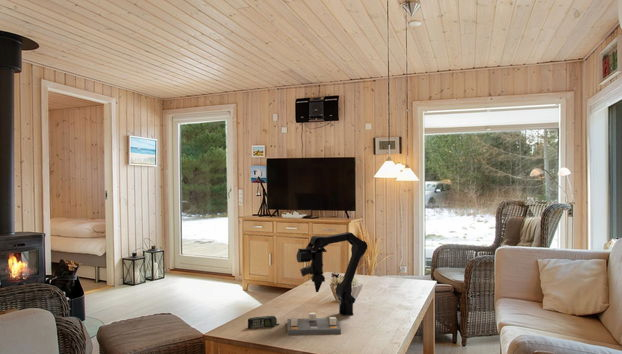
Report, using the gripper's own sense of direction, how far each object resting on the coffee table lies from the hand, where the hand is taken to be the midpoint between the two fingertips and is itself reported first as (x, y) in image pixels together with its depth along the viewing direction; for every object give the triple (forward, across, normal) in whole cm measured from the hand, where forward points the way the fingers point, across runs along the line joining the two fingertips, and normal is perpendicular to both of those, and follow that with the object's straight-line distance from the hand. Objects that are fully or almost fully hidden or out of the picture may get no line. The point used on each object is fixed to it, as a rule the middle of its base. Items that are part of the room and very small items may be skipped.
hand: (316, 292), depth 216 cm
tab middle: (+11, +10, -3) cm, 15 cm away
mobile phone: (+13, +12, -26) cm, 32 cm away
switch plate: (+13, +15, -3) cm, 20 cm away
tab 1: (+11, +17, -12) cm, 23 cm away
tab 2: (+11, +17, +6) cm, 21 cm away
